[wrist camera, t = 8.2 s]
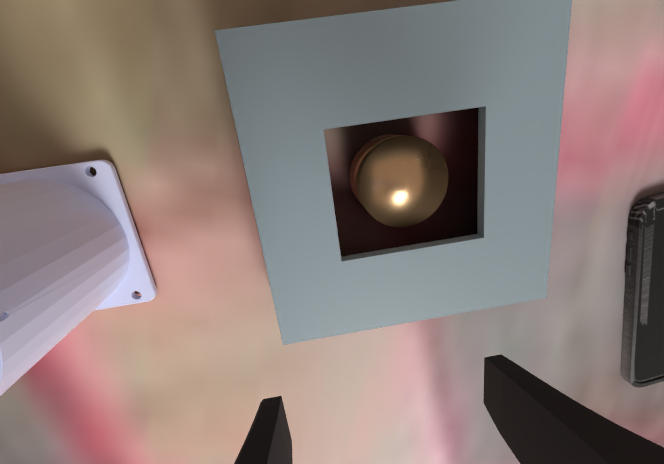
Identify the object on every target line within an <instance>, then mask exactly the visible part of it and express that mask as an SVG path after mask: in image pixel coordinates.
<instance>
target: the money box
mask: <svg viewBox="0 0 664 464" xmlns="http://www.w3.org/2000/svg"><path fill="white" fill-rule="evenodd" d="M571 5H572V0H456V1H448V2H440V3H432V4H424V5H416V6H407V7H399V8H391V9H383V10H375V11H367V12H359V13H351V14H343V15H335V16H327V17H318V18H310V19H302V20H294V21H286V22H278V23H270V24H262V25H254V26H246V27H238V28H230V29H221V30H215V35H216V39H217V44H218V49H219V53H220V58H221V62H222V67H223V72H224V76H225V81H226V85H227V90H228V94H229V99H230V104H231V108H232V113H233V117H234V122H235V127H236V131H237V136H238V140H239V145H240V150H241V154H242V159H243V163H244V168H245V172H246V177H247V182H248V186H249V191H250V195H251V200H252V205H253V209H254V214H255V218H256V223H257V228H258V232H259V237H260V241H261V246H262V250H263V255H264V260H265V264H266V269H267V273H268V278H269V283H270V287H271V292H272V296H273V301H274V306H275V310H276V315H277V319H278V324H279V328H280V333H281V338H282V342H283V345H286V344H291V343H297V342H303V341H308V340H314V339H319V338H325V337H330V336H336V335H342V334H347V333H353V332H358V331H364V330H369V329H375V328H381V327H386V326H392V325H397V324H403V323H408V322H414V321H419V320H425V319H431V318H436V317H442V316H447V315H453V314H458V313H464V312H470V311H475V310H481V309H486V308H492V307H497V306H503V305H509V304H514V303H520V302H525V301H531V300H536V299H542V298H546V296H547V284H548V273H549V261H550V249H551V238H552V226H553V215H554V203H555V191H556V180H557V168H558V156H559V145H560V133H561V122H562V110H563V98H564V87H565V75H566V63H567V52H568V40H569V29H570V17H571ZM477 107H479V115H478V228H477V234H474V235H468V236H462V237H456V238H450V239H444V240H438V241H432V242H426V243H419V244H413V245H407V246H401V247H395V248H389V249H383V250H377V251H371V252H365V253H359V254H353V255H347V256H341V254H340V247H339V239H338V232H337V224H336V217H335V210H334V202H333V195H332V188H331V180H330V173H329V166H328V158H327V151H326V144H325V136H324V129H331V128H338V127H345V126H352V125H359V124H366V123H373V122H380V121H387V120H394V119H401V118H408V117H415V116H422V115H429V114H435V113H442V112H449V111H456V110H463V109H470V108H477Z"/></svg>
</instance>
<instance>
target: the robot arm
mask: <svg viewBox="0 0 664 464" xmlns="http://www.w3.org/2000/svg"><path fill="white" fill-rule="evenodd" d="M90 167H93V168H95V170H96V172H97V174H96V176H94V175H92V174H91V172H90ZM135 291H138V292H139V293H140V294H141V296H137V295H136V294H135ZM156 294H157V289H156V286H155V283H154V280H153V277H152V274H151V271H150V268H149V265H148V262H147V259H146V257H145V254H144V251H143V248H142V245H141V242H140V239H139V236H138V233H137V230H136V227H135V225H134V222H133V219H132V216H131V213H130V210H129V207H128V204H127V201H126V198H125V195H124V193H123V190H122V187H121V184H120V181H119V178H118V175H117V172H116V169H115V167H114V165H113V164H112V163H111V162H110V161H107V160H95V161H88V162H81V163H74V164H67V165H60V166H53V167H46V168H39V169H32V170H25V171H18V172H11V173H4V174H0V396H1V395H2V394H3V393H4V392H5V391H6V390H7V389H8V388H9V387H10V386H12V385H13V384H14V383H15V382H16V381H17V380H18V379H19V378H20V377H21V376H22V375H24V374H25V373H26V372H27V371H28V370H29V369H30V368H31V367H32V366H33V365H34V364H36V363H37V362H38V361H39V360H40V359H41V358H42V357H43V356H44V355H45V354H46V353H48V352H49V351H50V350H51V349H52V348H53V347H54V346H55V345H56V344H57V343H58V342H60V341H61V340H62V339H63V338H64V337H65V336H66V335H67V334H68V333H69V332H70V331H72V330H73V329H74V328H75V327H76V326H77V325H78V324H79V323H80V322H81V321H82V320H84V319H85V318H86V317H87V316H88V315H89V314H90V313H91V312H92V311H93V310H99V309H105V308H111V307H117V306H123V305H129V304H135V303H141V302H147V301H151V300H152V299H153V298H154V297H155V296H156ZM484 404H485V406H486V408H487V410H488V412H489V414H490V416H491V418H492V420H493V422H494V423H495V425H496V427H497V429H498V431H499V432H500V434H501V436H502V437H503V439H504V440H505V442H506V443H507V445H508V446H509V448H510V449H511V450H512V452H513V453H514V455H515V456H516V458H517V459H518V461H519V462H520V464H664V447H662V446H660V445H657V444H655V443H653V442H651V441H649V440H647V439H645V438H643V437H641V436H639V435H637V434H635V433H633V432H631V431H629V430H627V429H625V428H623V427H621V426H619V425H617V424H615V423H613V422H612V421H610V420H608V419H606V418H604V417H602V416H601V415H599V414H597V413H595V412H594V411H592V410H590V409H588V408H586V407H585V406H583V405H581V404H580V403H578V402H576V401H574V400H573V399H571V398H569V397H568V396H566V395H564V394H563V393H561V392H560V391H558V390H556V389H555V388H553V387H551V386H550V385H548V384H547V383H545V382H544V381H542V380H540V379H539V378H537V377H536V376H534V375H533V374H531V373H529V372H528V371H526V370H525V369H523V368H522V367H520V366H519V365H517V364H516V363H514V362H512V361H511V360H509V359H508V358H506V357H504V356H503V355H496V356H490V357H485V360H484ZM234 464H292V440H291V436H290V431H289V427H288V423H287V419H286V414H285V410H284V406H283V401H282V397H281V396H278V397H273V398H267V399H263V400H262V402H261V403H260V406H259V409H258V411H257V414H256V416H255V419H254V421H253V424H252V426H251V428H250V431H249V433H248V435H247V438H246V440H245V442H244V444H243V446H242V448H241V450H240V452H239V455H238V457H237V459H236V461H235V463H234Z"/></svg>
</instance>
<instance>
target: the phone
mask: <svg viewBox="0 0 664 464" xmlns="http://www.w3.org/2000/svg"><path fill="white" fill-rule="evenodd" d="M621 376H622V377H623V378H624V379H625V380H626V381H628V382H629V383H630V384H631V385H633V386H635V387H645V386H648V385H651V384H655V383H658V382H662V381H664V192H661V193H658V194H654V195H651V196H647V197H645V198H642V199H640V200H639V201H638V202H637V203H636V204H635V205H634V206H633V207H632V209H631V211H630V213H629V217H628V234H627V254H626V274H625V294H624V314H623V334H622V354H621Z"/></svg>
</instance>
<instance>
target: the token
mask: <svg viewBox="0 0 664 464" xmlns="http://www.w3.org/2000/svg"><path fill="white" fill-rule="evenodd" d="M350 184H351V188H352V191H353V193H354V195H355V196H356V198H357V199H358V200H359V202H360V203H361V204H362V205H363V207H364V208H365V209H366V210H367V211H368V213H369V214H370V215H371V216H372V217H373V218H374V219H376V220H377V221H379V222H380V223H383V224H385V225H388V226H392V227H408V226H413V225H415V224H418V223H420V222H422V221H424V220H425V219H427V218H428V217H430V216H431V215H432V214H433V213H434V212H435V211H436V210H437V208H438V207H439V206H440V204H441V203H442V201H443V199H444V197H445V194H446V191H447V187H448V169H447V165H446V162H445V159H444V158H443V156H442V154H441V153H440V151H439V150H438V149H437V148H436V147H435V146H434V145H433V144H431V143H430V142H428V141H426V140H424V139H421V138H418V137H413V136H404V135H393V134H388V135H381V136H378V137H375V138H373V139H371V140H370V141H368V142H367V143H365V144H364V145H363V146H362V147H361V148H360V149H359V151H358V152H357V154H356V155H355V157H354V159H353V161H352V164H351V169H350Z"/></svg>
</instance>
